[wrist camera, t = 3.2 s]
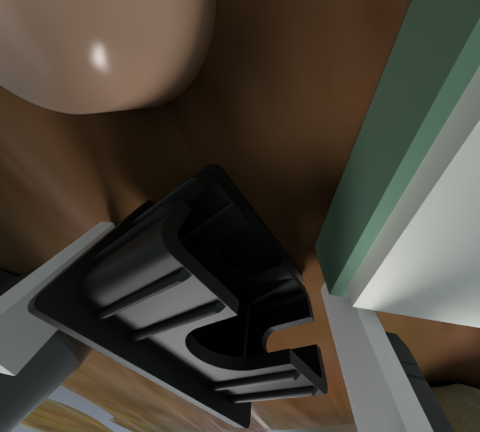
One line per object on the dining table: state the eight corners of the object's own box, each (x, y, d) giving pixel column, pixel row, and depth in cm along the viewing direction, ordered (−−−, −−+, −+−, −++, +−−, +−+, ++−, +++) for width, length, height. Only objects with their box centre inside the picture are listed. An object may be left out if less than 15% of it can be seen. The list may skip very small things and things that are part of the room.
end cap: (124, 218, 12) (-9, 330, 6) (209, 150, 9) (112, 240, 3) (224, 308, 16) (199, 431, 10) (308, 279, 13) (341, 428, 7)
